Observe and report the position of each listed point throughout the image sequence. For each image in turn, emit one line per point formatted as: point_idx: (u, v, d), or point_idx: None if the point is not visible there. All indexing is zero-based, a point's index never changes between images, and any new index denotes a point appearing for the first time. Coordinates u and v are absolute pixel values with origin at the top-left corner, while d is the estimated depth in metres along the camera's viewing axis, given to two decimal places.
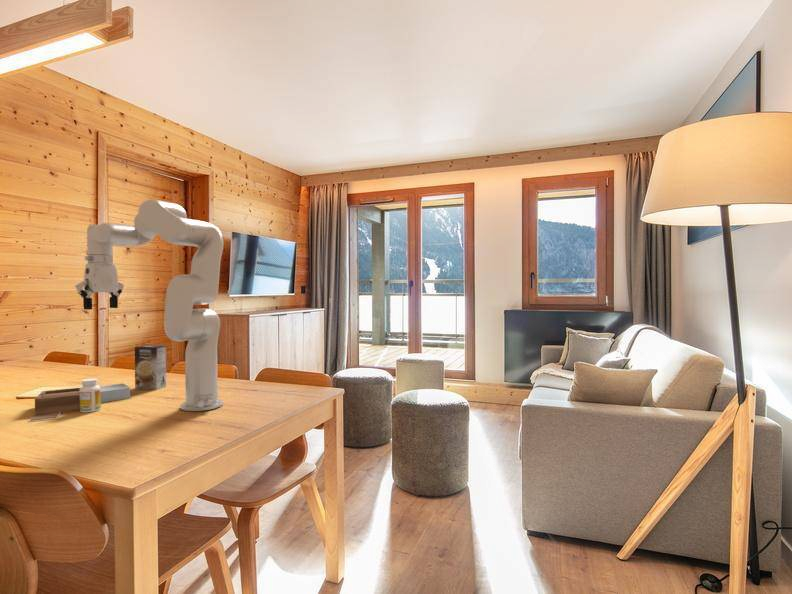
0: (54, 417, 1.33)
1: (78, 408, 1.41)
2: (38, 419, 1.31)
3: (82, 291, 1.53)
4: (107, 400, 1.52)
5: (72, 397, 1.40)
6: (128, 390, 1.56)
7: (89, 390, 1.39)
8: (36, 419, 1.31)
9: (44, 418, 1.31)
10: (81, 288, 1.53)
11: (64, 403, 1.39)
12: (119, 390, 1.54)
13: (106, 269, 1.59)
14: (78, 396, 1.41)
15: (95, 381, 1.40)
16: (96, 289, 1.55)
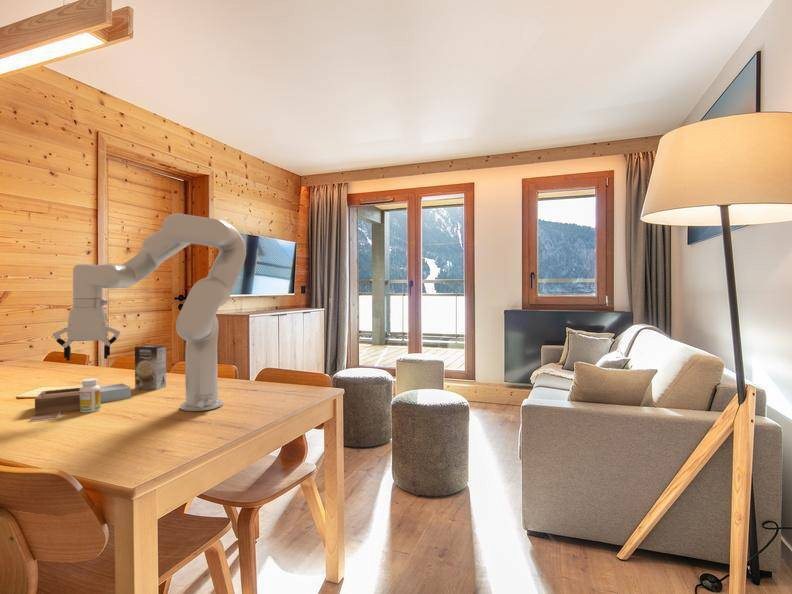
0: (54, 417, 1.33)
1: (78, 408, 1.41)
2: (38, 419, 1.31)
3: None
4: (108, 400, 1.52)
5: (72, 397, 1.40)
6: (128, 390, 1.56)
7: (89, 390, 1.39)
8: (36, 419, 1.31)
9: (44, 418, 1.31)
10: None
11: (64, 403, 1.39)
12: (120, 390, 1.54)
13: None
14: (78, 396, 1.41)
15: (95, 381, 1.40)
16: None
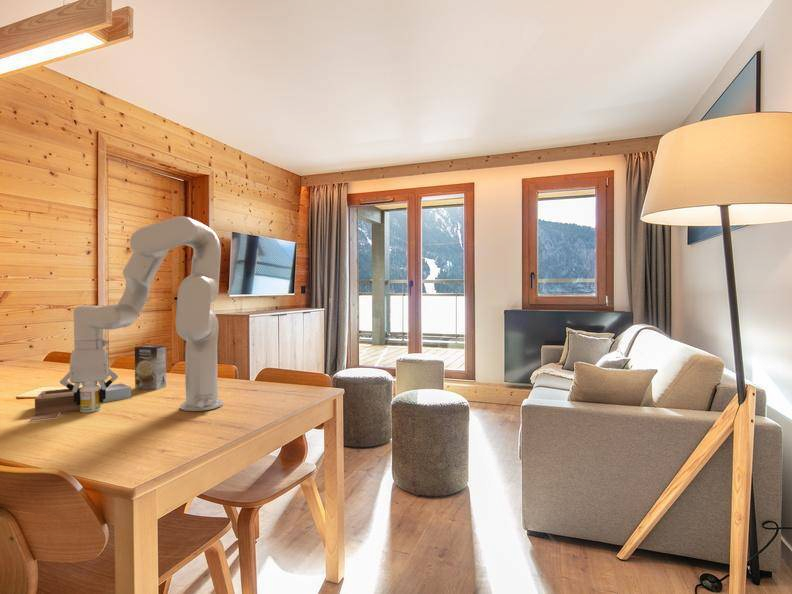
0: (54, 417, 1.33)
1: (78, 408, 1.41)
2: (38, 419, 1.31)
3: None
4: (108, 400, 1.52)
5: (72, 397, 1.40)
6: (129, 390, 1.57)
7: (89, 390, 1.39)
8: (36, 419, 1.31)
9: (44, 418, 1.31)
10: None
11: (64, 403, 1.39)
12: (120, 390, 1.54)
13: None
14: None
15: None
16: None
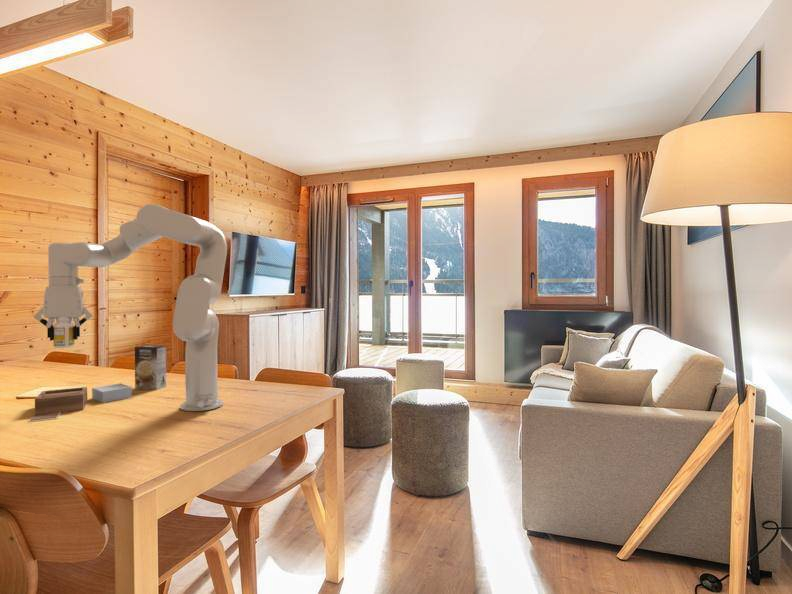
0: (54, 417, 1.33)
1: (78, 408, 1.41)
2: (38, 419, 1.31)
3: None
4: (109, 400, 1.52)
5: (72, 397, 1.40)
6: (129, 389, 1.57)
7: (63, 326, 1.41)
8: (36, 419, 1.31)
9: (44, 418, 1.31)
10: None
11: (64, 403, 1.39)
12: (121, 390, 1.55)
13: None
14: (78, 396, 1.41)
15: (69, 318, 1.43)
16: None
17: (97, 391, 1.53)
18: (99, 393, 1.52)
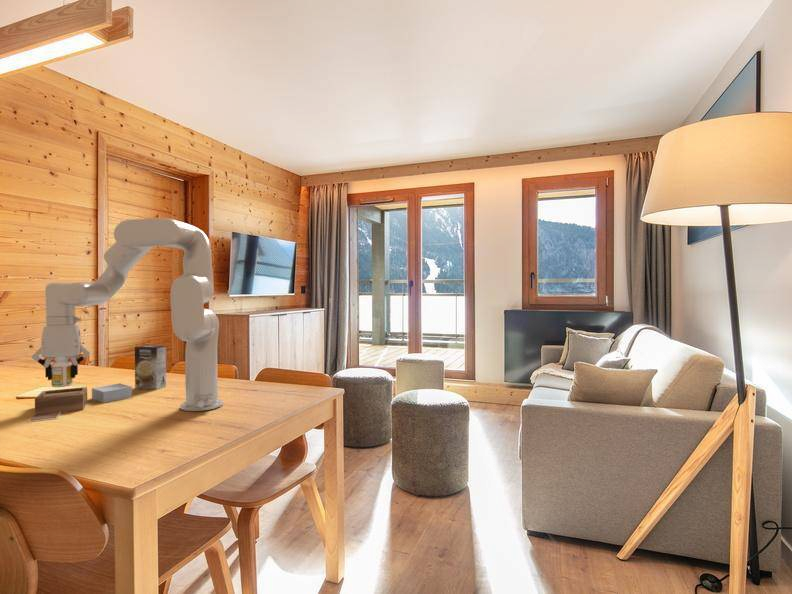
0: (54, 417, 1.33)
1: (78, 408, 1.41)
2: (38, 419, 1.31)
3: None
4: (110, 400, 1.52)
5: (72, 397, 1.40)
6: (130, 389, 1.57)
7: (61, 365, 1.41)
8: (36, 419, 1.31)
9: (44, 418, 1.31)
10: None
11: (64, 403, 1.39)
12: (121, 389, 1.55)
13: None
14: (78, 396, 1.41)
15: (67, 357, 1.43)
16: None
17: (97, 391, 1.53)
18: (99, 393, 1.52)
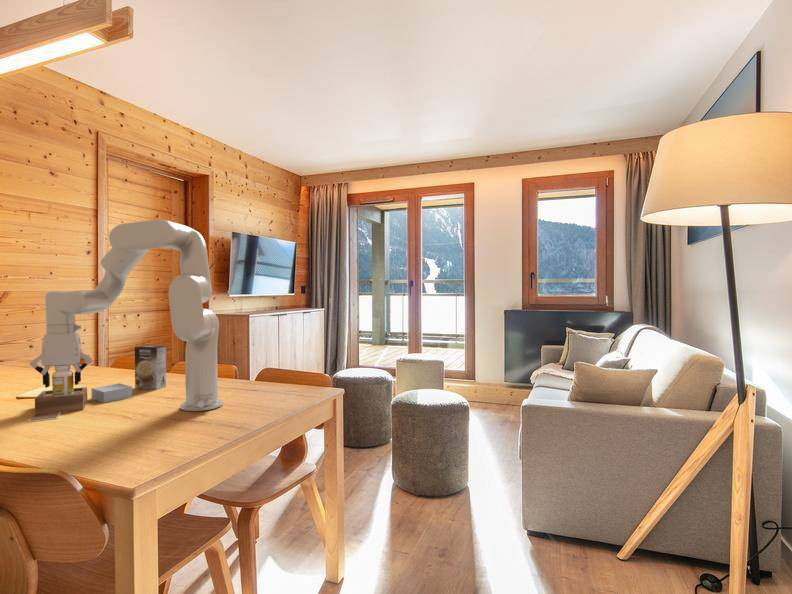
0: (54, 417, 1.33)
1: (78, 408, 1.41)
2: (38, 419, 1.31)
3: None
4: (110, 400, 1.52)
5: (72, 397, 1.40)
6: (130, 389, 1.57)
7: (62, 375, 1.42)
8: (36, 419, 1.31)
9: (44, 418, 1.31)
10: None
11: (64, 403, 1.39)
12: (122, 389, 1.55)
13: None
14: (78, 396, 1.41)
15: (68, 366, 1.43)
16: None
17: (97, 391, 1.53)
18: (100, 393, 1.52)
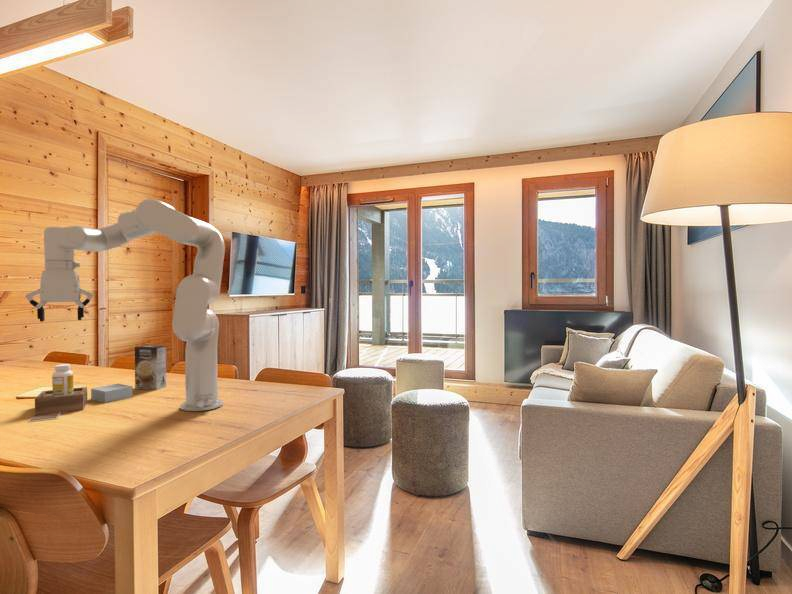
0: (54, 417, 1.33)
1: (78, 408, 1.41)
2: (38, 419, 1.31)
3: None
4: (112, 399, 1.52)
5: (72, 397, 1.40)
6: (130, 389, 1.58)
7: (62, 375, 1.42)
8: (36, 419, 1.31)
9: (44, 418, 1.31)
10: None
11: (64, 403, 1.39)
12: (122, 389, 1.55)
13: None
14: (78, 396, 1.41)
15: (68, 366, 1.43)
16: None
17: (98, 391, 1.52)
18: (101, 393, 1.52)
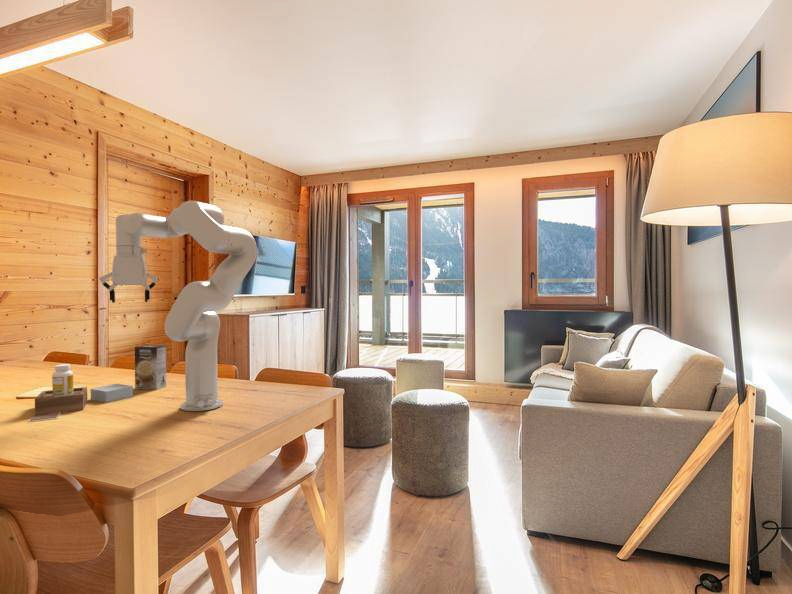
0: (54, 417, 1.33)
1: (78, 408, 1.41)
2: (38, 419, 1.31)
3: None
4: (113, 399, 1.52)
5: (72, 397, 1.40)
6: (131, 389, 1.58)
7: (62, 375, 1.42)
8: (36, 419, 1.31)
9: (44, 418, 1.31)
10: None
11: (64, 403, 1.39)
12: (123, 389, 1.56)
13: None
14: (78, 396, 1.41)
15: (68, 366, 1.43)
16: None
17: (98, 391, 1.52)
18: (101, 393, 1.52)
